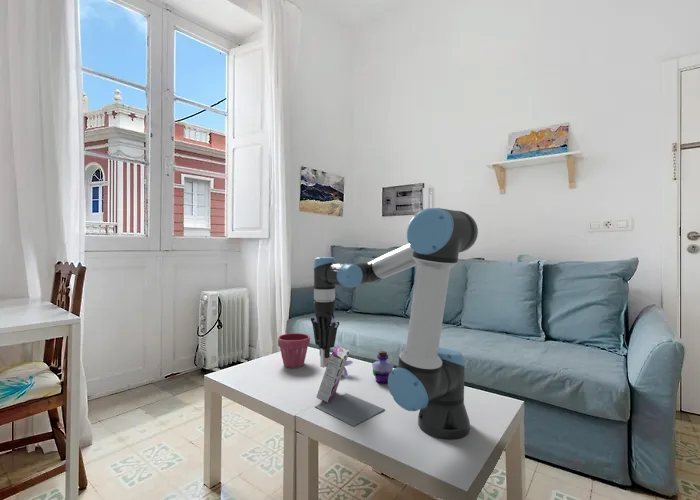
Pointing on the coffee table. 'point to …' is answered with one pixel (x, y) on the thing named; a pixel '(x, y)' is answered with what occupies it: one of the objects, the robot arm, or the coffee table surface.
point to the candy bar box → (333, 374)
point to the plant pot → (293, 349)
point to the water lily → (345, 364)
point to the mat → (350, 409)
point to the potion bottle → (382, 368)
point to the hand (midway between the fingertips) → (324, 366)
